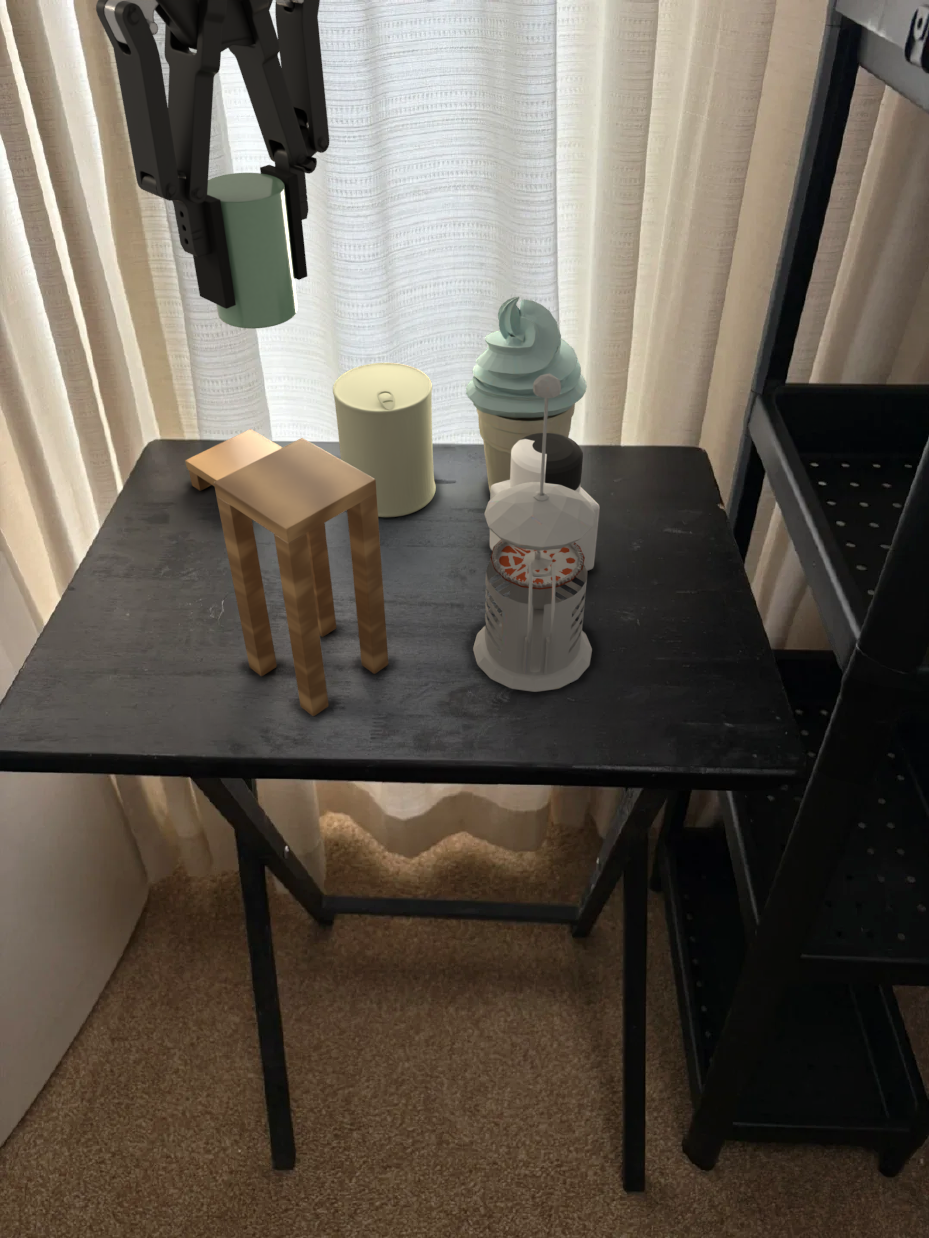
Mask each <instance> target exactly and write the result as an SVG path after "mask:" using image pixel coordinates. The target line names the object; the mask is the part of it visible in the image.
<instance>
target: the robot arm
mask: <svg viewBox="0 0 929 1238" xmlns="http://www.w3.org/2000/svg"><path fill="white" fill-rule="evenodd" d="M273 2H274V0H97V1H96V4H95V11H96V14H97V17H98V19H99V21H100V23H101V25H102V27H103V30H104V32H105V34H106V35H107V38H108V40H109V42H110V44H111V46H112V49H113V54H114V59H115V65H116V69H117V76H118V81H119V88H120V93H121V94H120V95H121V100H122V104H123V111H124V114H125V115H124V116H125V122H126V127H127V133H128V138H129V144H130V150H131V156H132V161H133V167H134V173H135V178H136V183H137V186H138V187H139V189H141V190H142V191H145V192H146V193H149V194H151V195H154V196H156V197H160V198H161V199H164V200H166V201H169V202H171V201H172V204H173V209H174V210H173V211H174V216H175V221H176V227H177V231H178V238H179V243H180V246H181V248H182V249H183V251H184V252H186V253H188V254H190V255H192V258H193V265H194V269H195V276H196V281H197V287H198V294H199V297H200V298H203V299H205V300H207V301H209V302H211V303H213V304H215V305H216V304H217V305H219V306H221V307H223V308H226V309H227V308H230V307H232V306H235V305H236V302H235V295H234V289H233V282H232V275H231V268H230V262H229V255H228V248H227V241H226V235H225V228H224V221H223V214H222V208H221V201H220V199H217V198H215V197H212V196H210V195H207V190H208V180H209V172H210V171H209V170H210V153H211V135H212V134H211V133H212V115H213V101H214V100H213V98H214V81H215V80H214V79H215V76H216V75H217V74H218V73H219V72H220V69H221V61H222V60H221V58H222V53H223V52H224V51H226V50H227V49H228V51H229V52H230V53H231V54H232V55H233V56H234V57H235V59H236V62H237V65H238V68H239V72H240V73H241V74H240V75H241V77H242V79H243V83H244V86H245V89H246V92H247V95H248V97H249V100H250V103H251V106H252V109H253V112H254V116H255V118H256V121H257V124H258V128H259V130H260V133H261V136H262V139H263V143H264V146H265V147H266V151H267V154H268V157H269V160H271V161H272V162H274V165H272V164H267V165H264V166H260V167H259V171H260V173H261V174H267V175H271V176H274V177H277V178H279V179H280V180H282V181H283V183H284V185H285V193H286V203H287V212H288V221H289V231H290V240H291V249H292V259H293V268H294V277H295V280H297V281H300V280H302V279H304V278H307V277H308V268H307V267H308V266H307V259H306V258H307V256H306V247H305V246H306V245H305V239H304V228H303V221H304V220H307V219H308V215H309V202H308V190H307V189H308V188H307V179H306V174H312V173H313V172H315V170H316V168H317V164H318V159H317V157H314V156H315V155H316V154H317V153H321V154H323V153H325V152H327V150H328V149H329V146H330V132H329V130H330V129H329V122H328V121H329V120H328V112H327V109H328V108H327V99H326V91H325V80H324V79H325V78H324V67H323V58H322V48H321V38H320V28H319V26H320V25H319V17H318V16H319V8H320V2H321V0H275V4H274V5H275V6H274V7H275V8H274V9H275V10H274V11H275V12H274V13H275V15H274V16H275V25H274V21H273V19H272V14H271V12H270V10H271V7H272V4H273ZM155 12H156V14H157V15H158V17H159V18H160V19H161V20H162V21H163V23H164V24H165V25H164V27H165V28H164V30H165V31H164V51H163V53H164V58H165V59H164V60H165V61H166V63H167V65H168V89H167V90H168V92H167V93H168V94H167V93H166V87H165V80H164V72H163V68H162V61H161V56H160V51H159V48H158V44H157V42H156V39H155V36H154V35H157V34H158V32H159V26H158V24H157V23H156V21H155V17H154V16H155V15H154V14H155ZM275 26H276V28H275ZM191 49H192V50H195V52H193V51H191ZM279 58H280V59H279ZM167 95H168V96H167ZM217 305H216V306H217Z"/></svg>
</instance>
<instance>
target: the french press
mask: <svg viewBox="0 0 929 1238" xmlns="http://www.w3.org/2000/svg"><path fill="white" fill-rule="evenodd" d="M533 392H534V394H535V395H537V396H539V397H542V398H545V406H544V425H543V443H542V462H541V481H540V482H528V483H523V484H519V485H516V486H513V487H511V488H508V489H505V490H503V491H500V492H499V493H498V494H497V495H496V496H494V497H493V498H492V499H491V500H490V499H489V501H488V502H487V505H486V508H485V510H484V513H483V514H484V518H485V520H486V523H487V527H488V528H489V530H490V529H491V531H492V532H493V533H495V534H496V535H497V536H498V537H499V538H500V539H501V540H500V541H499V542H498V543H497V544H496V545H495V546H494V547H493V550H491V554H490V560H489V562H488V565H487V567H486V570H485V586H486V588H485V589H484V591H485V599H486V601H485V602H484V605H485V606H484V608H485V609H484V610H485V614H484V621H485V625H484V626H483V627H482V628H481V630H479V631H478V632H477V634H476V637H475V641H474V645H473V647H472V651H473V654H474V658H475V661H476V665H477V666H478V667H479V669H480V670H481V671H483V672H484V673H485V674H486V675H487V677H488V678H489V679H490V680H492V681H494V682H496V683H499V684H501V685H502V686H505V687H507V688H509V689H512V690H519V691H526V692H533V693H537V692H545V691H551V690H558V689H561V688H563V687H566V686H567V685H569V684H570V683H573V682H575V681H577V680H579V678H580V677H581V676H582V675H583V674H584V672H586V670H587V669H588V668H589V667H590V665H591V658H592V652H593V648H592V646H591V643H590V641H589V638H588V636H587V634H586V632H585V631H583V624H584V612H585V602H586V601H585V600H586V592H587V582H588V571H587V570H586V568H585V566H584V560H585V557H584V555H583V552H582V550H581V548H580V546H579V545H577V544H576V543H575V542H576V541H578V540H580V539H581V538H582V537H583V536H584V535H585V534H586V533H587V532H588V531H589V530H590V529H591V528H592V527H593V523H594V519H595V512H594V510H593V508H592V506H591V504H590V502H589V501H588V500H587V499H585V498H584V497H583V496H582V495H580V494H579V493H578V492H577V491H574V490H572V489H569V488H567V487H565V486H562V485H558V484H549V483H544V468H545V450H546V433H547V415H548V398H554V397H556V396H558V395H559V394H560V392H561V383H560V380H559V379H557V378H556V377H554V376H553V375H551V374H550V373H549V374H545V375H541V376H539V377H538V378H537V379H536V380H535V381H534V383H533ZM497 575H499V576H500V578H499V579H497V580H495V581H493V582H492V583H491V582H490V580H491V579H492V578H494V577H496V576H497ZM575 578H576V579H578V580H580V581H581V582H582V583H584V584H583V585H582V586H581V585H579V584H577V583H575V582H574V581H573V580H574V579H575ZM506 582H508V583H509V584H508V585H507V586H506V585H505V587H503V588H501V589H500V590H496V589H497V588H498V587H500V586H502V585H503V584H505V583H506ZM563 585H565V586H567V587H569V588H570V589H571V590H574V591H575V592H576V593H575V594H572V593H571V592H569V591H567V590H566V589H565V588H562V587H561V586H563ZM507 593H509V596H505V594H507ZM556 593H558V594H559V595H562V596H563V597H564V598H565V599H563V600H562V599H560V598H559V597H557V596H556ZM489 595H490V596H489ZM583 597H584V598H583ZM493 602H494V603H495V605H494V604H493ZM488 606H489V607H490V608H489V607H488ZM578 606H579V607H578ZM577 607H578V609H577ZM499 609H500V611H501V612H499V611H498V610H499ZM582 609H583V610H582ZM581 611H582V612H581ZM492 614H493V615H494V616H493V615H492ZM577 618H578V619H577ZM488 619H489V620H488ZM576 619H577V620H576Z"/></svg>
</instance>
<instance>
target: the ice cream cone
mask: <svg viewBox="0 0 929 1238" xmlns="http://www.w3.org/2000/svg"><path fill="white" fill-rule="evenodd" d="M519 299H520V296H514V297H511V298H509V299H507V300H506V301H504V302H503V303H502V304H501V305H500V306H499V309H498V312H497V318H498V327H499V328H498V329H499V330H497V331H493V332H491V333H488V334H487V335H485V337H484V341H485V343H486V344H487V347H486V349H485V350H484V351H483V352H482V353H481V354H480V355H479V356H478V357H477V358H476V359H475V365H474V366H473V368H472V370H471V371H472V374H473V376H472V379H470V381H469V382H468V383H467V385H466V387H465V395H466V396H467V398H468V399H469V400H470V401H471V402H472V404H473V407H475V408H476V413H477V417H478V418H477V421H478V429H479V434H480V437H481V439H482V441H483V442H482V443H483V450H484V458H485V466H486V467H485V468H486V475H487V483H488V491H489V492H490V491H491V486H492V485H493V484H496V483H499V482H503V481H506V480H510V470H511V450H512V448H513V446H514V445H515V444H516V443H517V442H518V441H519V440H520V439H522V438H524V437H526V436H528V435H532V434H536V433H543V425H544V406H545V398H542V397H539V396H537V395H535V394H534V392H533V383H534V381H535V380H536V379H537V378H538V377H539V376H541V375H545V374H549V373H550V374H551V375H553V376H554V377H556V378H557V379H559V380H560V383H561V392H560V394H559V395H558V396H556V397H554V398H548V415H547V433H555V434H560V435H563V436H566V437H568V438H570V437H569V436H570V432H571V429H572V428H571V426H572V419H573V416H574V414H575V409H576V403H577V402H579V401H581V399H582V398H583V397H584V395H585V394H586V392H587V388H588V386H587V385H588V384H587V381H586V378H585V377H584V375H583V374H582V366H581V364H580V361H579V359H578V356H577V353H576V351H575V348H574V347H573V346H572V345H571V344H570V343H569V342H567V341H566V340H565V339H563V338H562V333H561V331H560V330H561V329H560V328H559V324H558V320H556V318H555V317H554V316H553V314H552V312H551V310H549V309H548V308H547V307H545V306H544V305H543V304H541V303H538V302H536V301H534V300H529V299H525V298H524V299H522V300H520V302H519V307H518V306H517V304H518V301H519Z"/></svg>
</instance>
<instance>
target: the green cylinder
mask: <svg viewBox="0 0 929 1238" xmlns="http://www.w3.org/2000/svg"><path fill="white" fill-rule="evenodd" d="M207 195H210V196H212V197H215V198H217V199H220V201H221V208H222V214H223V221H224V228H225V235H226V241H227V248H228V255H229V262H230V268H231V275H232V282H233V289H234V295H235V302H236V305H235V306H232V307H230V308H227V309H226V308H223V307H221V306H219V305H217V304H215V305H216V312H217V316H218V318H219V319H220V320H221V321H222V322H223V323H225V324H226V325H229V326H231V327H236V328H241V329H265V328H271V327H275V326H278V325H281V324H284V323H286V322H288V321H290V320H292V319H293V318H294V317H295V315H297V313H298V310H299V309H298V308H299V307H298V305H299V304H298V297H297V289H296V279H295V277H294V268H293V259H292V249H291V240H290V231H289V221H288V212H287V203H286V193H285V185H284V183H283V181H282V180H280V179H279V178H277V177H274V176H271V175H267V174H261V172H260V173H259V172H235V173H227V174H222V175H218V176H214V177H212V178H208V190H207Z"/></svg>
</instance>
